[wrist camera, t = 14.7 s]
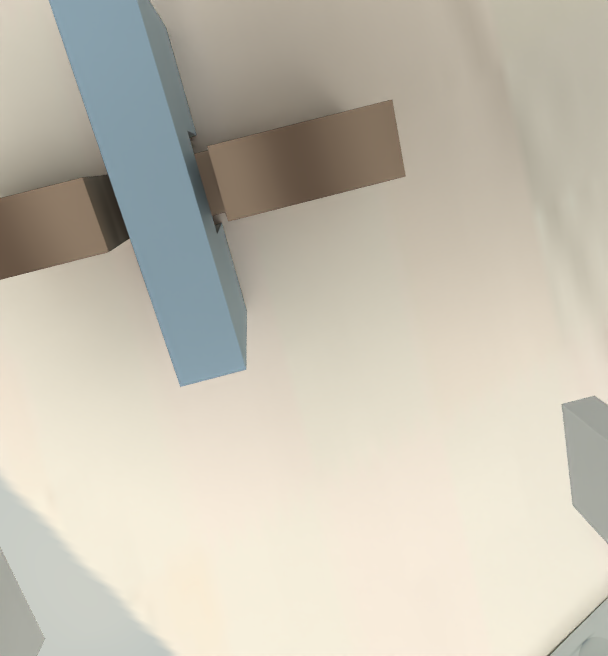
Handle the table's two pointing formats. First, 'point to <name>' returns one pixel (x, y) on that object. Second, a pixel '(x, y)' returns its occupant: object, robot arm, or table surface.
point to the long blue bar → (157, 179)
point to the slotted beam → (209, 186)
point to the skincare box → (588, 636)
